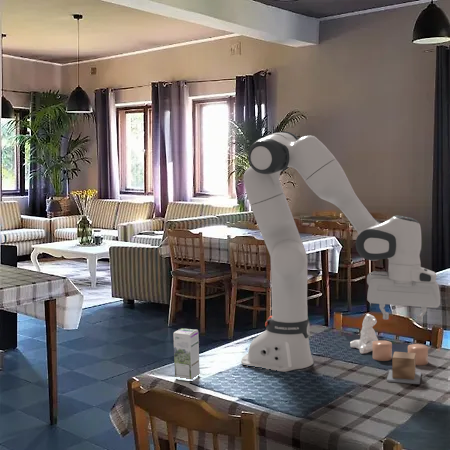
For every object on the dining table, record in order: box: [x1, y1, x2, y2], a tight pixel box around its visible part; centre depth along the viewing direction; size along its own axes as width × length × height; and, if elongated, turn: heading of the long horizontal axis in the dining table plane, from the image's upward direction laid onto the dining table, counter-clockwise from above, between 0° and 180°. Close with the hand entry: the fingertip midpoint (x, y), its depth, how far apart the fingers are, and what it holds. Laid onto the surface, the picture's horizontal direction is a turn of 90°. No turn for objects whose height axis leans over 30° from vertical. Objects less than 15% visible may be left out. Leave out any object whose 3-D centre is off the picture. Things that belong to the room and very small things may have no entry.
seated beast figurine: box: [349, 313, 379, 355], centre depth 226 cm, size 10×9×12 cm
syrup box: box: [172, 328, 201, 379], centre depth 200 cm, size 6×6×14 cm
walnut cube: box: [391, 351, 416, 380], centre depth 196 cm, size 6×6×6 cm
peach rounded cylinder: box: [407, 343, 429, 366], centre depth 210 cm, size 6×6×5 cm
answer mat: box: [386, 369, 422, 385], centre depth 196 cm, size 9×9×1 cm
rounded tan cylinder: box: [372, 339, 393, 362], centre depth 216 cm, size 6×6×5 cm
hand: (402, 320), depth 195 cm, fingers open, 8 cm apart
